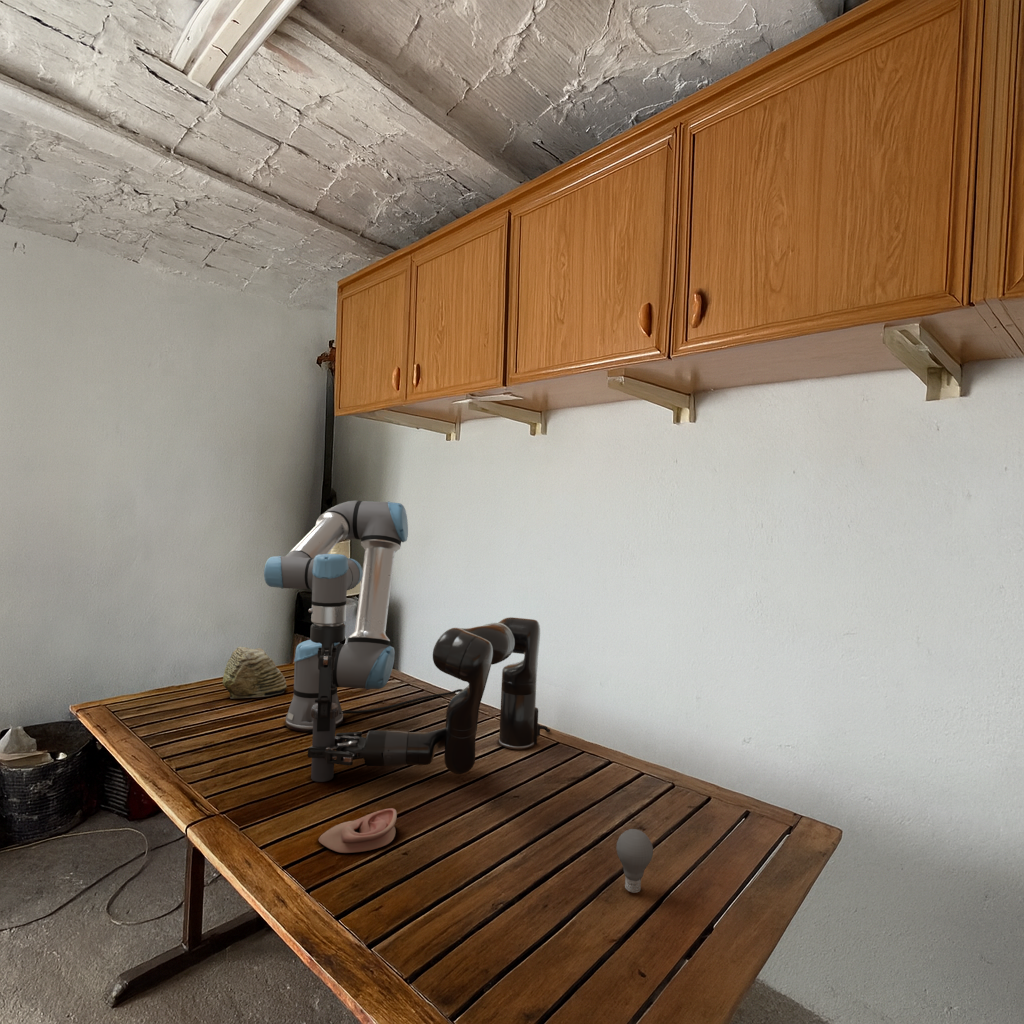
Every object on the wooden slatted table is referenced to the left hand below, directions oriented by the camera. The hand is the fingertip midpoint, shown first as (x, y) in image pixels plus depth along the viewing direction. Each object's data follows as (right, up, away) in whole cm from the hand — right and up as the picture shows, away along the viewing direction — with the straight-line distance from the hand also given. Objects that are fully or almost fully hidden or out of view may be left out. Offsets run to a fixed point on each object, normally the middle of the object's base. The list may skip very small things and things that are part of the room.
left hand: (324, 724), depth 143 cm
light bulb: (+63, -16, -37) cm, 74 cm away
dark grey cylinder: (0, -12, 0) cm, 12 cm away
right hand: (-3, -5, 0) cm, 6 cm away
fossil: (-38, -9, +55) cm, 68 cm away
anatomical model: (+14, -13, -24) cm, 31 cm away
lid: (0, +4, 0) cm, 4 cm away
